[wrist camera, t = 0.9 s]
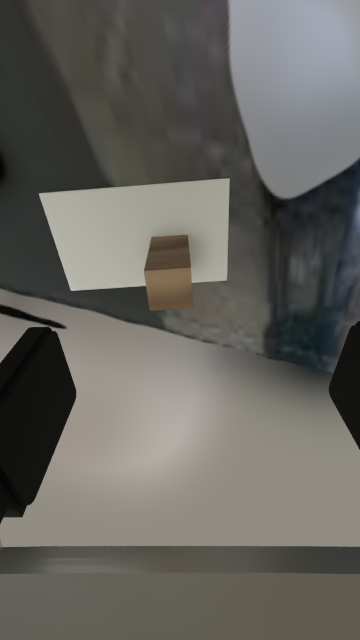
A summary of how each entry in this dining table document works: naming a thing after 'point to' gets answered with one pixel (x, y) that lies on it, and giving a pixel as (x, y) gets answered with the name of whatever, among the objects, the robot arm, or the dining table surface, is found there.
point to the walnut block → (169, 273)
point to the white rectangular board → (137, 230)
